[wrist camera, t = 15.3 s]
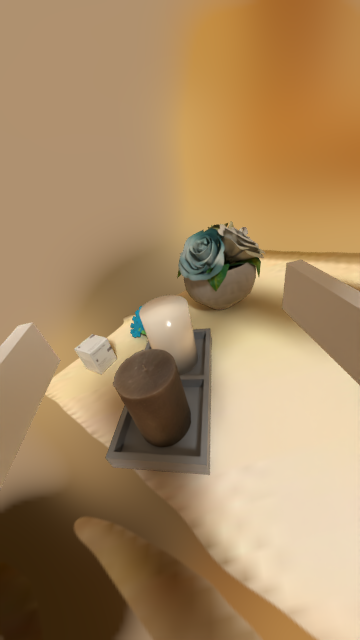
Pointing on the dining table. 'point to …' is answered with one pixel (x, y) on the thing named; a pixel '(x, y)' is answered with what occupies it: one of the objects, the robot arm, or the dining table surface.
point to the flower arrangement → (220, 265)
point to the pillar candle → (154, 396)
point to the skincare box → (96, 353)
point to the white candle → (171, 329)
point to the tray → (193, 447)
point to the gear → (137, 325)
